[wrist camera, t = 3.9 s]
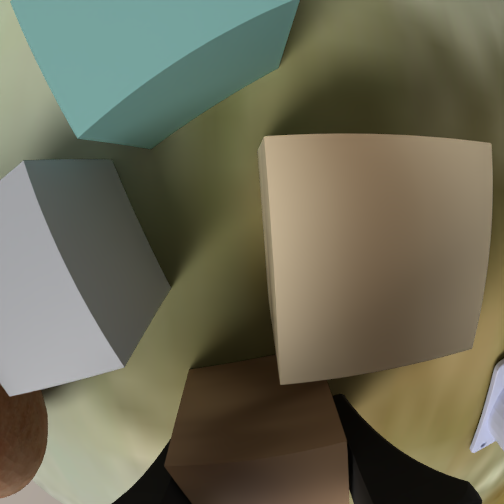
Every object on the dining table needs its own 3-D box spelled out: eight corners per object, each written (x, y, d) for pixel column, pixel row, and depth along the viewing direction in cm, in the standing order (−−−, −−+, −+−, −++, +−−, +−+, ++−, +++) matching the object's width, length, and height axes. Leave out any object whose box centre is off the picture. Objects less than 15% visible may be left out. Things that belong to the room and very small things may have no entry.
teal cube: (201, -24, 8) (179, -110, 3) (278, 68, 9) (300, -4, 4) (88, 49, 9) (10, 1, 4) (151, 149, 10) (77, 138, 5)
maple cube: (399, 148, 10) (491, 143, 5) (398, 283, 11) (471, 348, 6) (257, 151, 10) (264, 136, 5) (268, 296, 11) (280, 384, 6)
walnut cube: (314, 345, 12) (346, 440, 7) (327, 429, 13) (349, 514, 8) (189, 369, 12) (163, 465, 7) (223, 447, 13) (216, 532, 8)
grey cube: (112, 159, 10) (23, 160, 5) (171, 287, 11) (124, 367, 6) (21, 220, 10) (-67, 251, 6) (73, 327, 12) (9, 396, 7)
